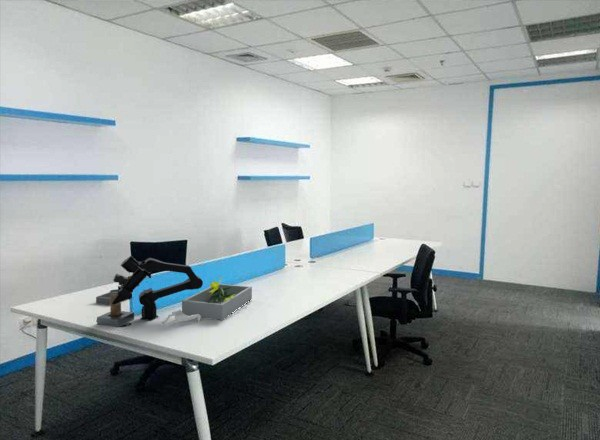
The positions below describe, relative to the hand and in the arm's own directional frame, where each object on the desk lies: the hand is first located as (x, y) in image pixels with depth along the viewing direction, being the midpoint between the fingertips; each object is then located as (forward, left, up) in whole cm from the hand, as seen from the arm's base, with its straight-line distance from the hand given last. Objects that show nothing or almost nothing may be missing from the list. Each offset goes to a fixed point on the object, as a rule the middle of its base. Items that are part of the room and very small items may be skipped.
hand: (112, 302), depth 209 cm
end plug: (-1, -1, -7) cm, 7 cm away
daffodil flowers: (-37, -39, -9) cm, 54 cm away
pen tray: (+25, -33, -10) cm, 42 cm away
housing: (-1, -1, -10) cm, 10 cm away
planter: (-38, -39, -10) cm, 55 cm away
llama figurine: (-33, -8, -10) cm, 36 cm away
